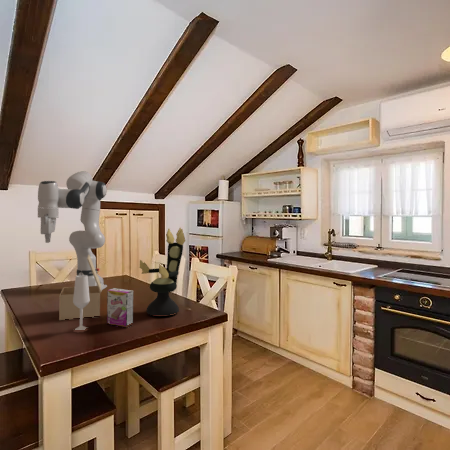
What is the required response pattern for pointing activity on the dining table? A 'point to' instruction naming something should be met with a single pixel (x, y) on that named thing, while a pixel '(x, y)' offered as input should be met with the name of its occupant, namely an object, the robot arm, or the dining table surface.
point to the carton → (71, 311)
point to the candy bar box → (119, 306)
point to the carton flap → (94, 272)
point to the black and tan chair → (166, 277)
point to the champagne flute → (81, 296)
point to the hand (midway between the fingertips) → (47, 242)
